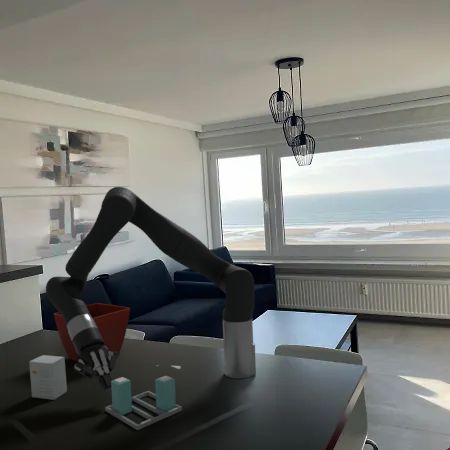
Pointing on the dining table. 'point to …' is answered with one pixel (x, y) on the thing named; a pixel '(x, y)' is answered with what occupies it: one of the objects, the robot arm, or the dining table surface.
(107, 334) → the plant pot
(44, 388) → the small box
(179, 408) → the switch board
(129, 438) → the dining table surface
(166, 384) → the tab
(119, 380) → the tab
